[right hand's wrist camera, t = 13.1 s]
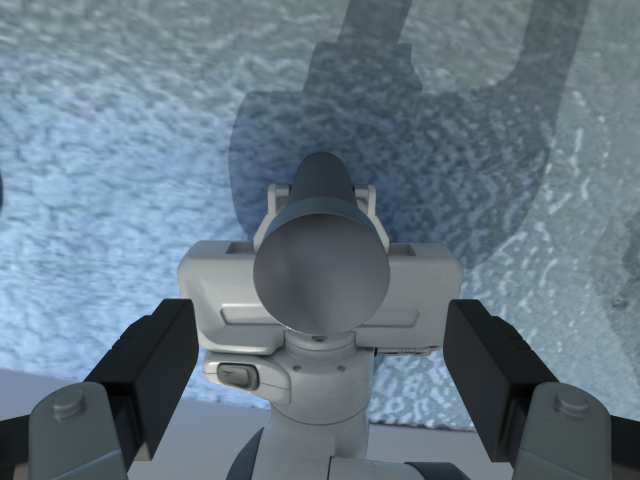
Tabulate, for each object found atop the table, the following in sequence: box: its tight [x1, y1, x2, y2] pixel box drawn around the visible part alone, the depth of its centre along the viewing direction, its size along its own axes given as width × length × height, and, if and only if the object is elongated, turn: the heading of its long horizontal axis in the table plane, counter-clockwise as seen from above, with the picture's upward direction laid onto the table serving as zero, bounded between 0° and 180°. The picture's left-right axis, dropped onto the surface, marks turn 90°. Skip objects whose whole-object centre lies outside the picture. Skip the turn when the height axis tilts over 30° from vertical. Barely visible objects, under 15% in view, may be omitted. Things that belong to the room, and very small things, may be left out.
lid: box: [253, 197, 390, 336], centre depth 16 cm, size 5×5×2 cm
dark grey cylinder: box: [285, 153, 359, 208], centre depth 24 cm, size 4×4×19 cm
